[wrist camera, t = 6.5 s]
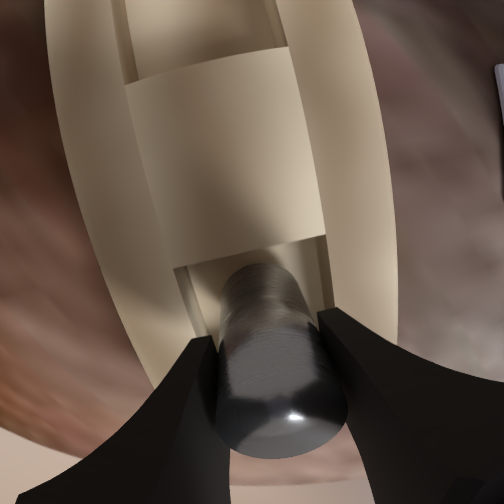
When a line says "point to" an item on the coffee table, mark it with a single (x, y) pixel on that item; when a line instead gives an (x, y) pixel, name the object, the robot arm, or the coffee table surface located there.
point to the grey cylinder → (273, 368)
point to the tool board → (224, 158)
